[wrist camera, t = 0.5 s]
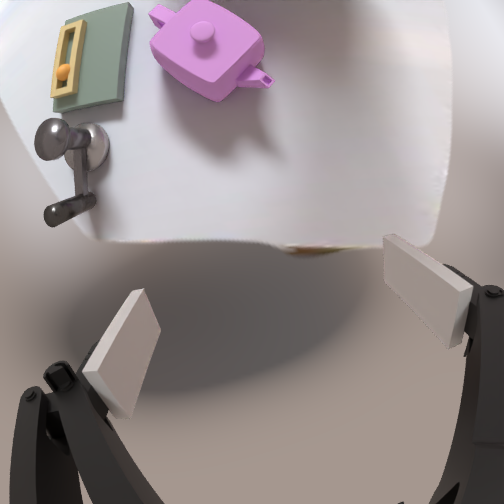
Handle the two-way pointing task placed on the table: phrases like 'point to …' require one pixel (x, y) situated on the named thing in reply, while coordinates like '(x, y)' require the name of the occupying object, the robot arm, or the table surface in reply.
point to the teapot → (208, 49)
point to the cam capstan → (72, 162)
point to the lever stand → (91, 59)
